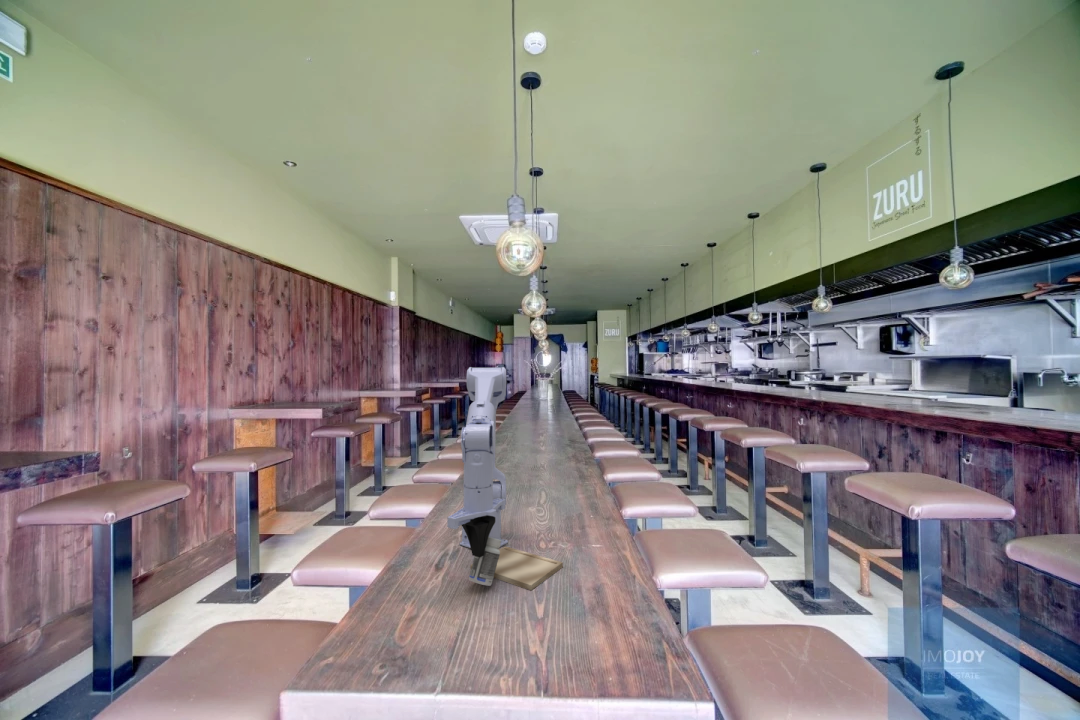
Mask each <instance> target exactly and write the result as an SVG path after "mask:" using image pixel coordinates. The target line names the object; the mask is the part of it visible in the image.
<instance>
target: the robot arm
mask: <svg viewBox="0 0 1080 720" xmlns="http://www.w3.org/2000/svg"><path fill="white" fill-rule="evenodd" d="M466 389H467V392H468V397H469V400H470V401H472V402H471V404H470V405H469V406H468V411H467V416H466V417H467V418H466V422H465V423H466V424H465V426H462V428H461V432H460V448H461V456H462V458H461V459H462V461H461V462H462V463H463V507H461V508H460V509H459V510H457V511H456V512H454V513H452V514H451V515H449V516H447V519H446V520H447V521H446V523H447V526H446V528H448V529H452V530H457V529H459V527H460V526H461V542H459V545H460V546H463V547H466V548H469V549H470V550H471V554H472V556H473V557H475V556H476V557H482V556H484V552H485V548H486V544H487V540H488V537H491V538H495V539H499V540H501V544H500V547H499V548H502V547H504V545H507V544H508V543H509V540H508V539H504V538H502V510H506V505H507V481H506V480H507V477H506V475H505V473H504V472H502V471H501V470H500V469H498V468H497V467H496V443H497V442H496V440H497V439H496V438H497V435H496V433H497V431H496V430H497V422H496V420H497V418H496V417H497V410H498V409H497V408H498V405H499V403H501V402H503V401H505V400H506V396H507V369H506V368H505V367H504V366H501V367H472V366H469V367H468V369H467V370H466Z"/></svg>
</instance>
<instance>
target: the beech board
mask: <svg viewBox="0 0 1080 720" xmlns="http://www.w3.org/2000/svg"><path fill="white" fill-rule="evenodd" d="M498 550H499V551H500V555H499V559H498V562H497V566H496V570H495V574H494V578H493V579H496V580H499V581H502V582H505V583H508V584H511V585H514V586H517V587H519V588H522V589H525V590H528V591H533V590H534V589H535V588H536V587H538V586H540V585H541V584H542V583H543V582H545V581H546V580H547V579H549V578H550V577H551V576H553V575H554V574H556V573H557V572H558V571H559V570H561V569H562V568H564V566H563V565H564V564H563V563H564V562H562V561H560V560H556V559H552V558H548V557H545V556H541V555H538V554H534V553H531V552H527V551H524V550H520V549H517V548H513V547H509V546H502V547H500V548H498ZM472 565H473V563H471V564H470V569H469V570H470V571H471V568H472Z"/></svg>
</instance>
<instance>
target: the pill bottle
mask: <svg viewBox="0 0 1080 720" xmlns="http://www.w3.org/2000/svg"><path fill="white" fill-rule="evenodd" d="M500 544H501V540H499V539H495V538H491V537H488V540H487V544H486V548H485V552H484V556H482V557H476V556H474V559H473V562H472V564H473V565H472V568H471V570H470V572H469V577H468V580H469V581H471V582H473V583H476V584H479V585H483V586H487V587H488V586H489V587H490V586H492V585H493V580H494V579H495V578H494V574H495V570H496V566H497V562H498V559H499V555H500V551H499V549H500V548H501V547H500Z"/></svg>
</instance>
